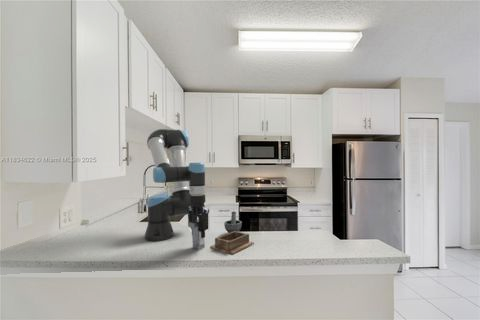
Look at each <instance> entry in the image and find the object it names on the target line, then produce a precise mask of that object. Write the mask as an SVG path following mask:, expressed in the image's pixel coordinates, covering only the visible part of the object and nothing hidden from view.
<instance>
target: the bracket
mask: <svg viewBox="0 0 480 320" xmlns="http://www.w3.org/2000/svg"><path fill="white" fill-rule="evenodd" d="M187 227H188V228H191V227H192V229H191V236H192V249H194V250H198V251H199V249H200V250H202V249H204V248H205V247H206V246H205V244H203V245H199V230H200V226H199V220H198V219H197V220H194V221H190V222H188V221H187Z"/></svg>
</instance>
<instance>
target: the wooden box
mask: <svg viewBox="0 0 480 320" xmlns="http://www.w3.org/2000/svg"><path fill="white" fill-rule="evenodd" d="M252 244H253V245H254V244H255V242H253V241H250V233H245V232H242V231H239V232H237V231H233V232H230V233H228V232H227V233H225V234H223V235H220V236H218V237H215V238H214V244H213V245H211V246H210V249H212V248H213V250H215V249H216V251H219V252H222V251H223V253H226V254H230V255H235V254H238V253H239V252H241V251H244V250H245V249H247V248H249V247H251V246H253V245H252ZM250 245H251V246H250Z"/></svg>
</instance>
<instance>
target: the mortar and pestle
mask: <svg viewBox="0 0 480 320" xmlns="http://www.w3.org/2000/svg"><path fill="white" fill-rule="evenodd" d="M236 214H237V212H236V211H231V219H229V220H226V221H224V223H223V224H224V229H225V231H227V234H228V233H230V232H233V231H237V232H241V230H242V229H241V228H242V223H243V221H241V220H239V219H237V215H236Z"/></svg>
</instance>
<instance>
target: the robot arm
mask: <svg viewBox="0 0 480 320" xmlns="http://www.w3.org/2000/svg"><path fill="white" fill-rule="evenodd" d="M146 142H147V148H148V149H149V151H150V152H151V153H150V154H151V156H152V159H153V163H154V168H153V169H152V180H153V182H154V183H156V184H157V183H159V184H160V183H161V184H164V183H172V184H173V191H172V192H171V195H170V193H168V192H166V193H159V194H158V193H157V194H155V195H151V196H150V197H148V199H147V227H146V230H145V233H144V240H145V241H149V242H156V241H157V242H159V241H166V240H168V239H171V238H173V237H174V234H175V231H174V230H173V226H172V223H171V217H178V216H185V215H186V216H187V223H188V222H190V221H194V220H199V226H200V230H199V245H203V244H205V237H206V231H207V230H209V213H210V209H209V208H206V206H205V203H206V168H205V167H206V166H205V163H204V162H201V161H200V162H189V163H188V166H187V163H186V162H187V161H186V156H185V152H186V151H187V148H189V145H190V144H189V143H190V140H189V136H188V133H187V132H186V131H185V130H183V129H167V128H164V129H163V128H160V129H156V130H154V131H153V132H151V133H150V134H149V136H148V137H147V141H146ZM166 149H167V151H166ZM167 152H168V153H169V154H170V159H169V156H168V154H167ZM170 162H171V163H170ZM190 229H191V230H192V227H190Z"/></svg>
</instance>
